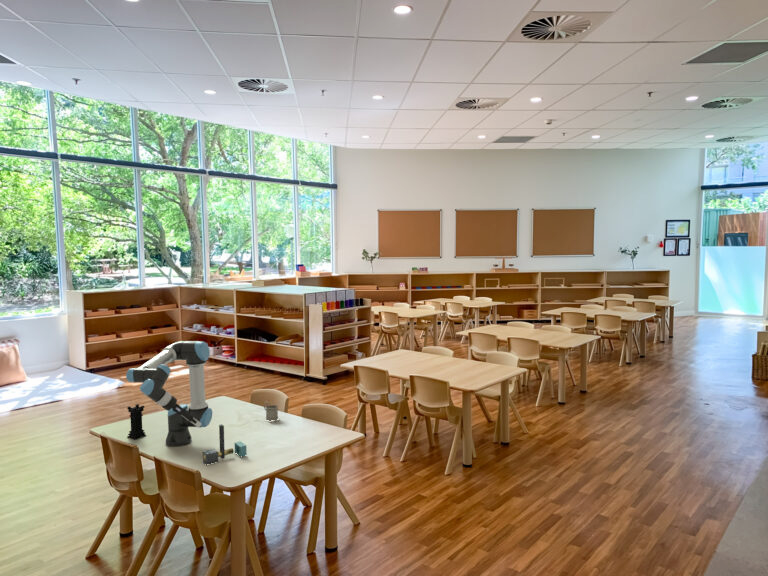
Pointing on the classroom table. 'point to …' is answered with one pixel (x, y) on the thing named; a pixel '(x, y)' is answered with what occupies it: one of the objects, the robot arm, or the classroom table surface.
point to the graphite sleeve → (210, 456)
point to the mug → (271, 412)
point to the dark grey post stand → (222, 444)
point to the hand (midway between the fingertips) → (195, 422)
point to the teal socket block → (240, 448)
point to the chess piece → (136, 422)
